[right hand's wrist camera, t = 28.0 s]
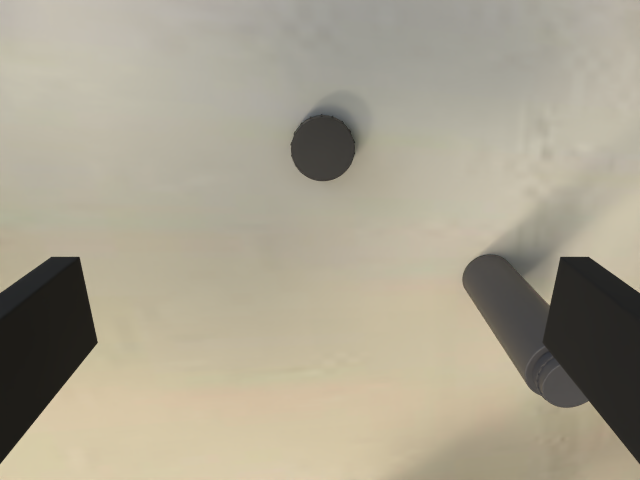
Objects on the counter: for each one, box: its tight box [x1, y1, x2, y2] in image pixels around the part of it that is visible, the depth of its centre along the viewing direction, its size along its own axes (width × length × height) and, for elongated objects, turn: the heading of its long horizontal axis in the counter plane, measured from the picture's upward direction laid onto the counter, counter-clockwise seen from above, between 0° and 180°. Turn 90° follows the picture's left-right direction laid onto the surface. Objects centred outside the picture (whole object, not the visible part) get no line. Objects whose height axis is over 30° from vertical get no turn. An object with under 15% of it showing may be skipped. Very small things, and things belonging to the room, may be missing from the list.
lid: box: [291, 114, 355, 181], centre depth 36 cm, size 5×5×2 cm
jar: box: [463, 255, 589, 408], centre depth 34 cm, size 4×4×15 cm
